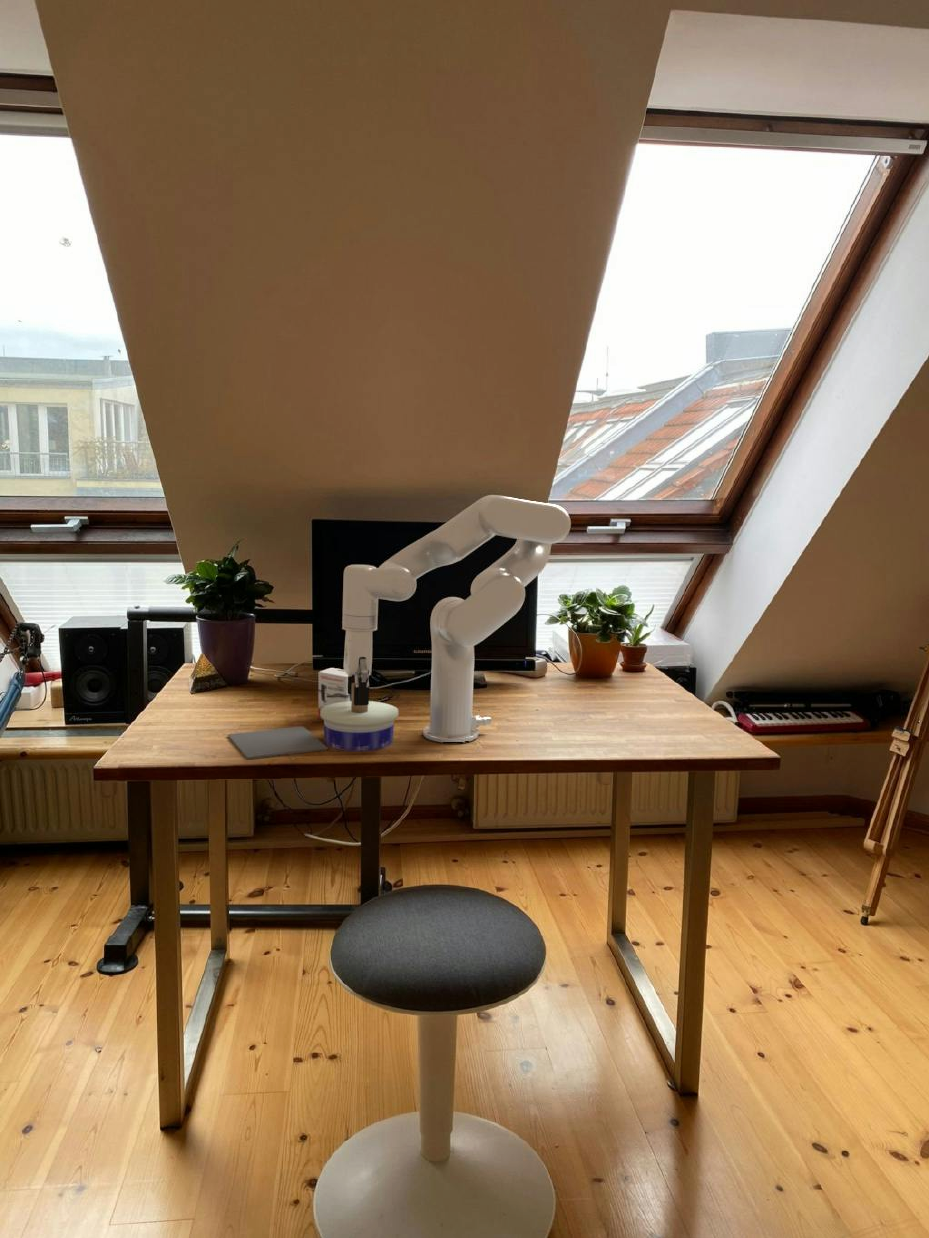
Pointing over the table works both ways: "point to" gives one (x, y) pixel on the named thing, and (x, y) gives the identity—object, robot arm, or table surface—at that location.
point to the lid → (359, 713)
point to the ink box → (332, 687)
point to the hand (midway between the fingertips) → (357, 699)
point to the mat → (276, 742)
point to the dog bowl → (358, 736)
